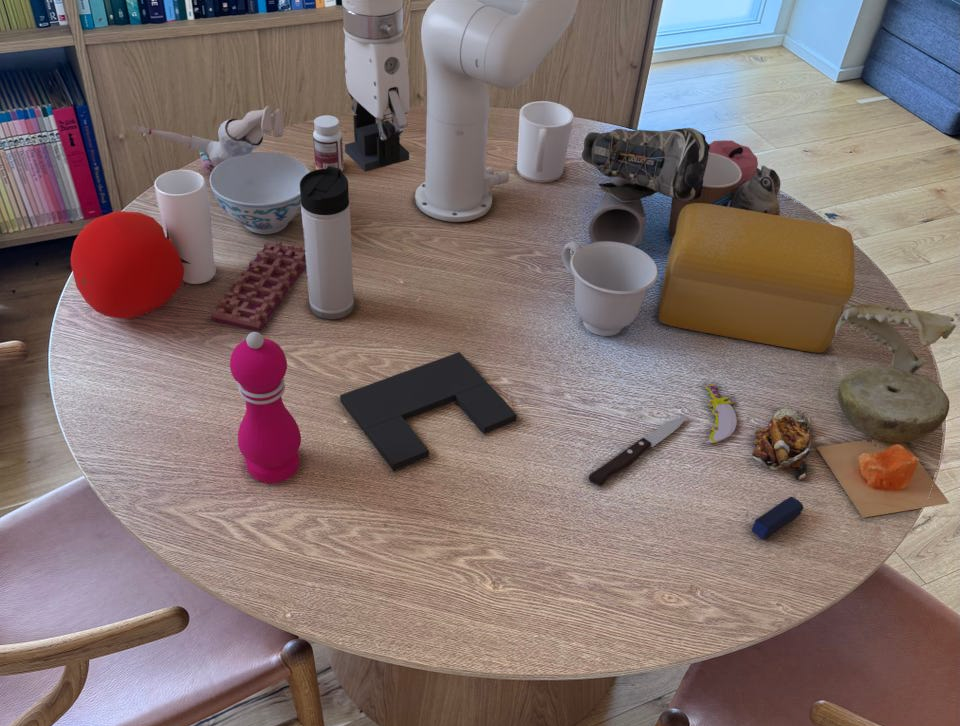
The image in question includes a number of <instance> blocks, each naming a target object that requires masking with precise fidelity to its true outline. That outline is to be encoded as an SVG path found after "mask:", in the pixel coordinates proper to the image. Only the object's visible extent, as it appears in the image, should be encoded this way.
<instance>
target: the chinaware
mask: <svg viewBox="0 0 960 726" xmlns="http://www.w3.org/2000/svg"><path fill="white" fill-rule="evenodd" d="M255 152H256V153H248V154H245V155H242V156H235V157H232V158H229V159H227V160H225V161H223V162H222V163H220V164H219V165H218V166H216V167H215V169H214V170H213V171H212V173H210V176H209V185H210V188H211V191H212V194H213V195H214V197H215V199H216V201H217V202H218V204H219V205H220V207H221V208H222V210H223V211H224V212H225V213H226V214H227V215H228V216H229V217H230V218H231V219H233V220H234V221H236V222H238V223H239V224H241V225H243V226H245V228H246V229H247V230H249V231H250V232H252V233H254V234H255V233H256V234H259V235H271V234H276V233H278V232H280V231H283V230H284V229H286V228H287V226H288V223H289V222H291V221H292V220H294V219H295V218H296V217H297V216H298V215H299V214H300V212H301V195H300V181H301V179H302V178H303V177H304V176H305V175H306V174H308V173H309V172H311V170H310V169H309V167H308V166H307V165H306V164H305V163H304V162H302V161H300V160H299V159H297V158H295V157H293V156H290V155H287V154H283V153H278V152H270V151H269V152H267V151H260V152H257V151H255Z"/></svg>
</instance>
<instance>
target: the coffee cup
mask: <svg viewBox="0 0 960 726" xmlns="http://www.w3.org/2000/svg"><path fill="white" fill-rule="evenodd" d="M708 153H709V152H708ZM738 176H739V177H738ZM741 176H742V173H741V169H740V168H739V166H738V165H737V164H736V163H735V162H733V161H732V160H730V159H728V158H726V157H724V156H721V155H718V154H714V153H709V155H708V161H707V165H706V169H705V173H704V177H703V186H702V190H701V196H700V197H699V198H697V199H693V200H691V201H683V200H678V199H676V198H673V197H671V203H670V204H671V205H670V212H669V221H668V234H669V237H670V238H671V240H672V241H673V238H674V236H675V234H676V227H677V221H678V217H679V214H680V212H681V210H682V209H683V208H684V207H685V205H688V204H692V203H706V204H714V205H720V206H726V207H729V204H730V202H731V200H730V198H731V196H732V192H733V191H734V189H735V187H736V184H737V182H738V181H739V180H740V179H741ZM673 210H674V211H673Z"/></svg>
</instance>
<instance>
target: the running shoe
mask: <svg viewBox="0 0 960 726" xmlns="http://www.w3.org/2000/svg"><path fill="white" fill-rule="evenodd" d="M585 136H586V137H585V138H584V140H583V150H582V153H581V158H582V161H583V162H586V163H588V164H590V165H592V166H593V167H595V168H596V170H597V171H599V172H600V173H601V174H602V175H603V176H606V177H608V178H612V177H620V178H623V179H626V180H629V181H631V182H634V183H635V184H632V183H626V184H623V185H621V186H618V185H616V184H614V183H612V182H610V181H609V182H605V183H604V182H603V183H598V184H597V185H598V186H599V187H597V189H598V190H600V191H602V192H604V193H605V192H607V193H609V194H610V195H612V196H613V197H614V198H616V199H618V200H620V201H621V202H631V201H635V200H639V199H641V200H642V199H644V198H647V197H651V196H653V195H656V194H657V193H659V194H660V195H663V196H665V197H669V198H672V197H673V198H676V199H678V200H683V201H691V200H693V199H697V198H699V197H700V196H701V190H702V186H703V177H704V173H705V169H706V165H707V161H708V155H709V153H708V152H709V149H710V145H709V144H710V143H708V142H707V140H706V135H705V134H703V133H702V132H701V131H700V130H697V129H695V128H693V127H683V128H675V129H668V130H646V129H635V130H627V129H625V128H624V129H623V128H616V129H614V130H611V131H605V132H595V131H594V132H593V131H591V132H588V133H587V135H585ZM661 210H664V207H662V208H661ZM673 211H674V210H673Z"/></svg>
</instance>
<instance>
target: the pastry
mask: <svg viewBox="0 0 960 726" xmlns="http://www.w3.org/2000/svg"><path fill="white" fill-rule="evenodd" d="M811 425H812V420H811V419H810V418H809V417H807V418H805V414H804V413H802V412H800V411H798V410H796V409H794V408H790V407H786V408H781V409H779V410H776V411H775V413H774V415H773V417H772V418H771V419H770V421H768V423H767V426H766V427H765V428H760V429H757V430H755V438H754V441H753V444H754V445H756V447H755V448H754V450H753V451H752V453H751V456H752V458H753V459H755V460H756V461H758V463H759V465H761V466H763V467H767V468H769V469H770V470H772V471H775V470H778V469H781V468H793V467H794V468H797V467H798V472H796V474H795V479H796V480H798V481H803V480H804V479H805V478H806V476H807V474H806V473H807V472H808V466H807V463H806V462H805V460H806V458H807V457H808V456H809V455H810V453H811V452H810V451H811V448H812V436H811V434H810V428H811Z"/></svg>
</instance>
